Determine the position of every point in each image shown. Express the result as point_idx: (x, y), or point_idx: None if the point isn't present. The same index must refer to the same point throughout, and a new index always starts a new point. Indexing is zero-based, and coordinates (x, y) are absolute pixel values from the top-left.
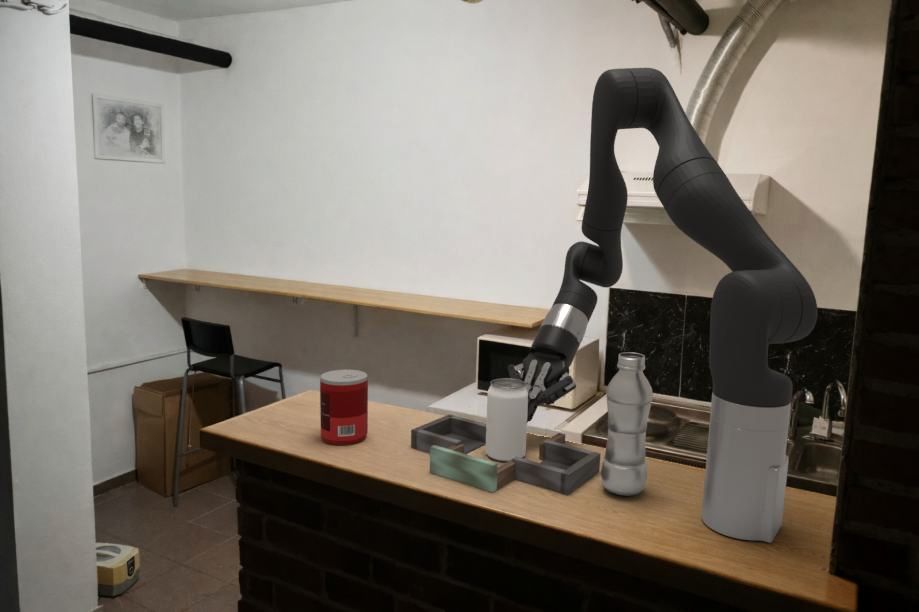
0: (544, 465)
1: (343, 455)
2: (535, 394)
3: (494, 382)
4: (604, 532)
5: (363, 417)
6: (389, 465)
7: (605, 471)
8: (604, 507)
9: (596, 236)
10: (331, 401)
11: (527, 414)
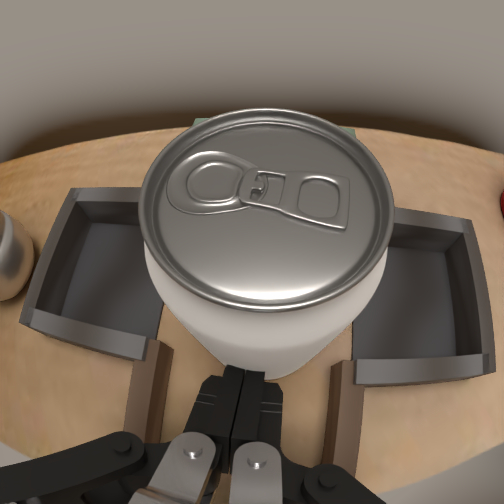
0: (112, 196)
1: (472, 168)
2: (177, 455)
3: (379, 204)
4: (53, 158)
5: None
6: (409, 163)
7: (17, 222)
8: (44, 207)
9: None
10: None
11: (210, 384)
